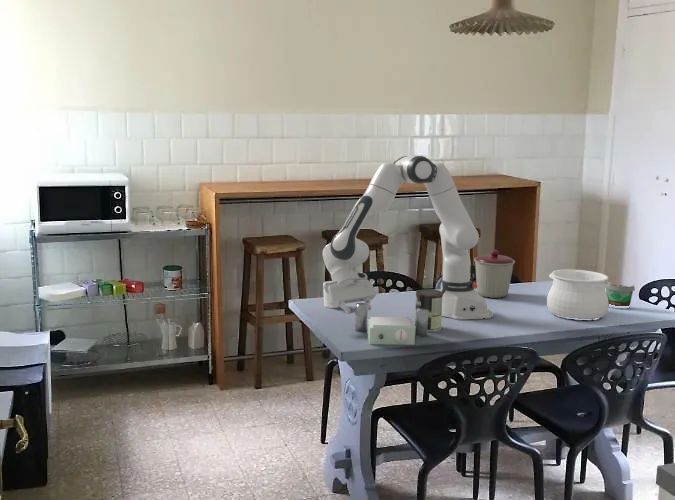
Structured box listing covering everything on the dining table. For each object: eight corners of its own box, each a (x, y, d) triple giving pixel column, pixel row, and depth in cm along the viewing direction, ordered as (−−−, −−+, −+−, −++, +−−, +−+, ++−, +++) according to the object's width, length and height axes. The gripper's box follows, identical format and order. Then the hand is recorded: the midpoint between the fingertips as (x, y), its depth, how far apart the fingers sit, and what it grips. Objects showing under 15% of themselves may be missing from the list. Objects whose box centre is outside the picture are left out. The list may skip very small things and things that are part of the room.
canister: (516, 301, 343) (519, 254, 339) (475, 300, 343) (478, 253, 340) (508, 291, 361) (511, 246, 357) (469, 290, 361) (471, 245, 357)
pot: (618, 315, 323) (622, 275, 320) (592, 326, 305) (596, 284, 302) (561, 304, 340) (564, 266, 337) (533, 314, 322) (536, 274, 319)
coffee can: (417, 331, 293) (418, 295, 291) (412, 324, 303) (413, 289, 301) (444, 331, 294) (445, 295, 292) (438, 324, 304) (440, 289, 302)
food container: (602, 307, 335) (604, 285, 333) (603, 304, 340) (604, 282, 339) (632, 311, 330) (634, 288, 328) (633, 307, 336) (635, 285, 334)
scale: (409, 334, 290) (410, 316, 289) (414, 345, 276) (415, 327, 275) (367, 333, 290) (367, 315, 288) (369, 345, 276) (370, 326, 275)
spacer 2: (426, 333, 291) (427, 307, 289) (427, 337, 287) (429, 310, 285) (414, 333, 291) (415, 307, 289) (416, 337, 287) (417, 310, 285)
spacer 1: (366, 328, 296) (367, 303, 295) (367, 331, 292) (367, 305, 290) (354, 328, 296) (355, 302, 294) (355, 331, 292) (356, 305, 290)
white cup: (339, 309, 324) (340, 285, 322) (321, 307, 325) (321, 284, 323) (343, 304, 331) (343, 281, 329) (325, 303, 333) (325, 280, 331)
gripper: (325, 278, 292) (339, 310, 286) (369, 273, 303) (384, 303, 297) (319, 288, 297) (332, 318, 290) (362, 282, 308) (376, 312, 302)
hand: (358, 311), depth 294 cm, fingers open, 8 cm apart
